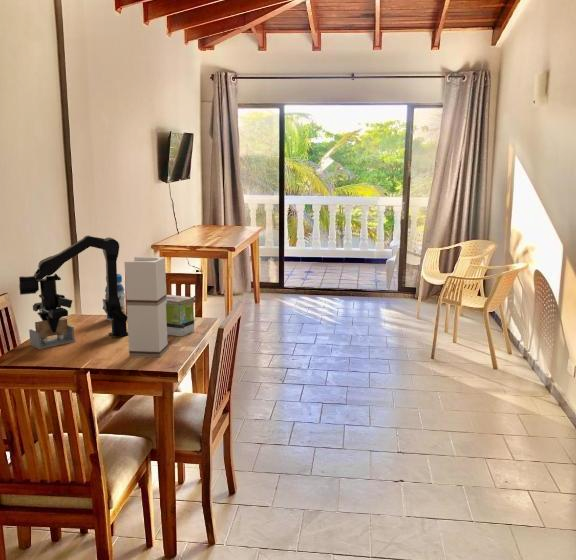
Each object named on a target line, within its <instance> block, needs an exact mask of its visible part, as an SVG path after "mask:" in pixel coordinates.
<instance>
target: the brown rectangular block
mask: <svg viewBox="0 0 576 560" xmlns="http://www.w3.org/2000/svg"><path fill="white" fill-rule="evenodd" d="M67 324H68V319H67V318H66V317H61V318H60V319H59V321H58V325H57V329H56V332H54V333H53V332H52V330H51V327H50V325H49V323H48V321H47V320H45V321H42V320H40V321H39V320H38V321H35V322H34V328H35V331H36V332H38V333H40V338H44V337H47V338H49V337H54V336H57V335H58V334H63V333H68V326H67Z"/></svg>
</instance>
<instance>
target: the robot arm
mask: <svg viewBox="0 0 576 560" xmlns="http://www.w3.org/2000/svg"><path fill="white" fill-rule="evenodd" d="M90 247H91V248H95V249H100V250H102V253H103V255H104V259H105V273H106V277H105V279H106V278H107V282H106V286H107V297H106V299H105V298H102V304H103V305H102V309H103V311H104V313H105V314H106V316H107V315H108V316H109V317H110V318H111V321H110V322H111V332H109V333H108V335H109V336H111V337H114V338H120V337H124V336H128V328H127V322H128V319H127V313H126V312H125V313H124V312H122V309H121V305H120V301H119V298H118V290H117V274H118V272H117V271H118V269H117V266H118V265H117V262H118V261H117V260H118V257H119V252H120V242H119V241H117V240H116V239H115V238H112V237H109V236H108V237H105V238H102V237H97V236H96V237H95V236H91V235H85V236H84V237H82V238H81V239H80V240H78V241H77V242H75V243H73V244H72V245H70V246H68V247H67V248H64V249H63V250H62V251H60V252H58V253H57V254H54V255H52V256H51V255H50V256H48V257H45V258H43V259H41V260H40V261H39V262H38V266H37V267H38V268H37V269H36V271H35V272H34V274H33V275H31V276H19V280H18V283H19V284H18V288H19V295H20V296H22V295H30V294H32V295H33V294H37V292H39V291H40V294H39V295H38V297H39V298H40V300H41V301H40V302H35V303H34V304H33V305H32V311H33V312H37V315H38V316H39V317H40V319H41V321H45V320H47V321H48V323H49V325H50V327H51V330H52V332H53V333H54V332H56V329H57V325H58V321H59V319H60V318H61V317H63V318H66V317H68V316H69V310H67V308H68V309H71V308H72V303H73V300H72V299H70V298H67V297H66V296H65V295H63V294H59V293H57V281H61V280H62V278H61V277H60V276H59V275H58V274H57V273H56V272H57V271H58V270H59V269H60V268H61V267H62V266H63V265H64V264H65V263H66V262H68V261H69V260H71V259H73V258H74V257H76V256H77V255H79V254H81V253H82V252H84V251H85V250H87V249H89V248H90ZM65 307H66V308H65ZM38 311H39V312H38Z"/></svg>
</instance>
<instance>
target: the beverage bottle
mask: <svg viewBox="0 0 576 560" xmlns="http://www.w3.org/2000/svg"><path fill="white" fill-rule="evenodd" d="M105 280H106V283H107V278H106V277H105ZM122 282H123V278H122V274H119V273H117V290H118V298H119V301H120V305H121V309H122V312H124V313H125V314H126V308H125V307H126V304H125V298H126V297H125V295H126V293H125V288H124V285H123V284H122ZM104 289H105V290H104V293H105V295H104V299H106V297H107V285H106V287H105V288H104ZM106 319H107V320H108V321H109V322H111V318H110V317H109V316H108V315H107V314H106Z"/></svg>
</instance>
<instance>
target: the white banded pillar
mask: <svg viewBox="0 0 576 560" xmlns="http://www.w3.org/2000/svg"><path fill="white" fill-rule="evenodd" d="M133 258H134V259H133V260H134V261H132V260H130V261H129V260H128V261H126V260H125V261H124V262H123V263H124V264H123V265H124V283H125V295H126V297H125V298H126V299H125V300H126V316H127V332H128V335H127V338H128V352H129V357H135V356H137V357H138V358H140V357H142V358H161V357H162V356H163V355H164V354H165V353H166V352H167V351H168V350H169V348H170V347H169V346H170V345H169V343H168V335H167V319H166V303H167V295H168V294H167V280H166V279H167V277H166V276H167V273H166V271H167V270H166V257H160V256H159V257H158V256H157V257H156V256H151V257H150V256H134V257H133ZM137 357H136V358H137Z"/></svg>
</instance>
